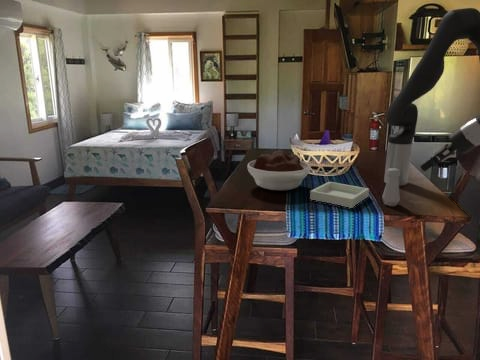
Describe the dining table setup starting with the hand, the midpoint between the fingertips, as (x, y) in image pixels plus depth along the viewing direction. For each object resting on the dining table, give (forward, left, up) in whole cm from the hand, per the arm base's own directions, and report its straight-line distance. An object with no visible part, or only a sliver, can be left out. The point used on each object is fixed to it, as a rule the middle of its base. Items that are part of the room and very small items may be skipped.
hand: (425, 166), depth 134 cm
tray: (+5, -27, -15) cm, 31 cm away
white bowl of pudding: (+6, -53, -16) cm, 55 cm away
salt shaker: (0, -10, -15) cm, 18 cm away
